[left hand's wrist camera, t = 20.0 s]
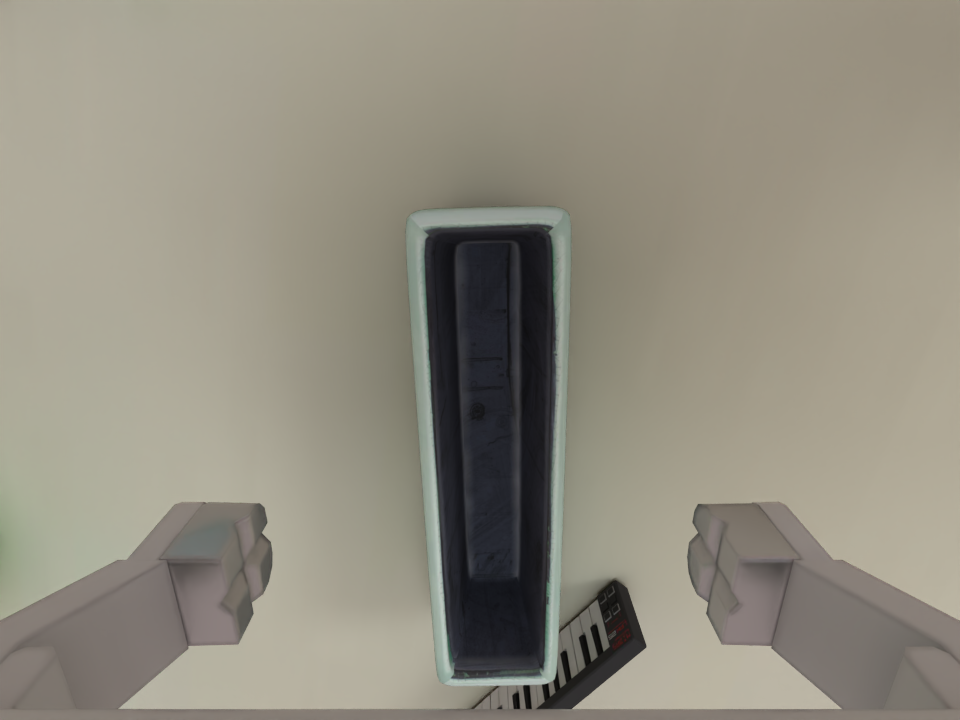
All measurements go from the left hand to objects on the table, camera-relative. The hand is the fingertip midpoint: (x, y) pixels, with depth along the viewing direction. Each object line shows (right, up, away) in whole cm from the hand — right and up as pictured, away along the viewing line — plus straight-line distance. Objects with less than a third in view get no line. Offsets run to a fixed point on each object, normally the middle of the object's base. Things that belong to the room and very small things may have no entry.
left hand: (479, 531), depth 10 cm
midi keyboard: (+4, -19, +31) cm, 36 cm away
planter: (+1, -1, +24) cm, 24 cm away
